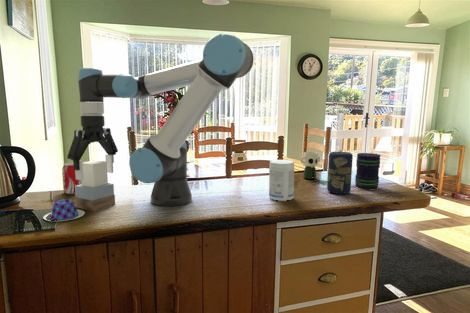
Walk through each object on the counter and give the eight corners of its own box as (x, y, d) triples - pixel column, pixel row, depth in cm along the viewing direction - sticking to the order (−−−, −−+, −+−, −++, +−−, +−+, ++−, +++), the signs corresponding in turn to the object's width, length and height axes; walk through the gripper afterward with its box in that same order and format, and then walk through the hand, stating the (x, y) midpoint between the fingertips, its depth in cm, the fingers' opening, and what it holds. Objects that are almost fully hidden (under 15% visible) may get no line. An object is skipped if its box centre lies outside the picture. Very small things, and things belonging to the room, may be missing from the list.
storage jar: (380, 186, 157) (382, 154, 155) (375, 191, 149) (378, 156, 147) (357, 184, 162) (359, 152, 160) (352, 188, 154) (354, 154, 152)
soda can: (75, 195, 137) (73, 165, 135) (59, 194, 138) (57, 164, 136) (86, 191, 143) (85, 162, 142) (71, 190, 145) (69, 161, 143)
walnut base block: (115, 205, 125) (114, 194, 125) (95, 212, 117) (94, 200, 117) (96, 202, 129) (96, 191, 129) (76, 208, 121) (76, 197, 121)
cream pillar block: (107, 183, 124) (106, 161, 122) (94, 187, 118) (93, 164, 117) (95, 182, 126) (94, 160, 125) (81, 185, 121) (80, 162, 120)
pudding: (84, 221, 108) (83, 204, 107) (40, 225, 104) (39, 208, 103) (85, 210, 119) (84, 195, 119) (46, 213, 115) (45, 198, 114)
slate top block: (114, 194, 124) (113, 184, 124) (92, 200, 117) (91, 189, 116) (97, 191, 129) (96, 180, 128) (75, 196, 121) (74, 185, 120)
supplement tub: (286, 194, 142) (287, 158, 140) (298, 200, 133) (299, 162, 131) (264, 196, 139) (265, 160, 137) (275, 202, 130) (276, 163, 128)
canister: (325, 193, 144) (327, 150, 141) (328, 188, 152) (330, 148, 150) (349, 196, 140) (352, 152, 137) (351, 191, 149) (353, 149, 146)
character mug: (304, 180, 168) (305, 154, 166) (296, 177, 174) (297, 152, 172) (323, 179, 172) (324, 153, 170) (314, 176, 178) (316, 151, 176)
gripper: (110, 113, 132) (113, 169, 135) (52, 115, 109) (56, 181, 112) (126, 114, 129) (128, 170, 132) (69, 116, 106) (73, 184, 109)
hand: (95, 175), depth 122 cm, fingers open, 13 cm apart
